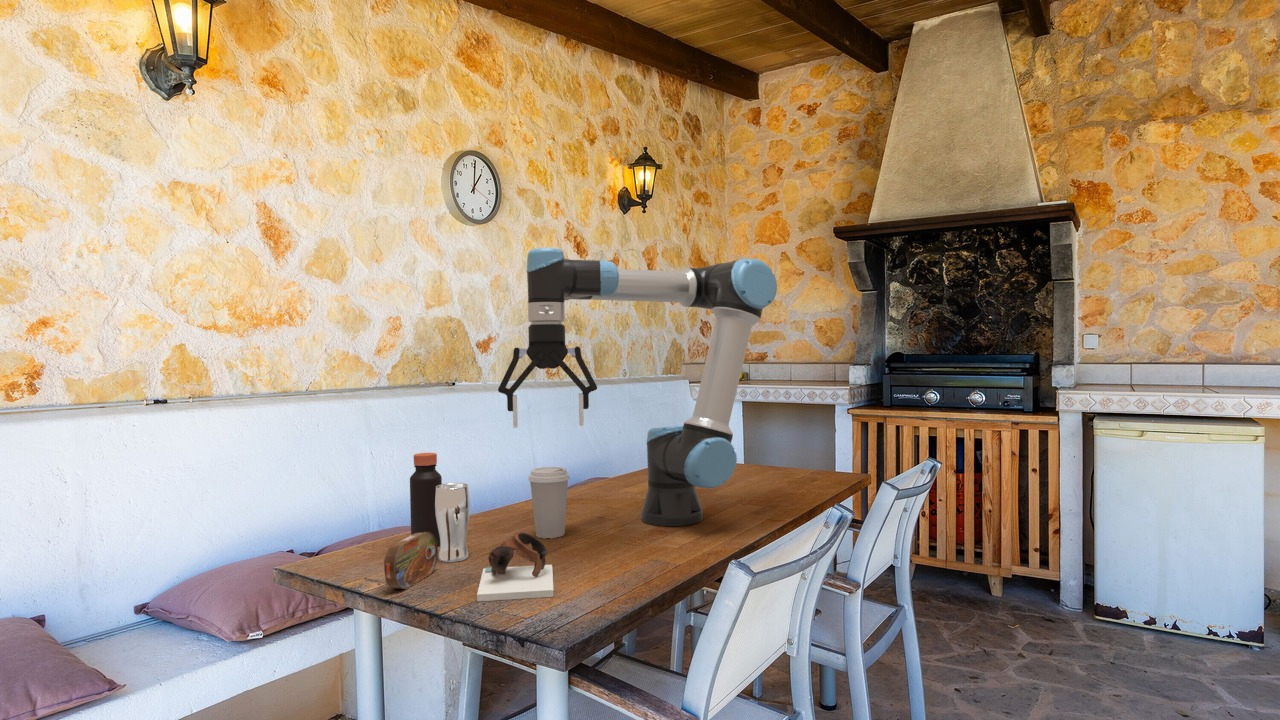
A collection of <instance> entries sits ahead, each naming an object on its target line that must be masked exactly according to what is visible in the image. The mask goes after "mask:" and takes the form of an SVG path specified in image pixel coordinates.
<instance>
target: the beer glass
mask: <svg viewBox="0 0 1280 720" xmlns="http://www.w3.org/2000/svg"><path fill="white" fill-rule="evenodd" d="M435 488H436V490H435V516H436V522H437V527H438V532H439V537H440V545H439V550H438V556H437V561H439V562H441V561H442V563H457V562H463V561H465V560H467V559H468V558H469V556H470V555H469V550H468V547H467V532H468V528H469V521H470V511H471V509H470V508H471V506H470V504H471V502H470V491H469V484H468V483H464V482H463V483H462V482H449V483H448V482H446V483H442V484H441V485H437V486H436V487H435Z"/></svg>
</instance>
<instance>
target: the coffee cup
mask: <svg viewBox="0 0 1280 720" xmlns="http://www.w3.org/2000/svg"><path fill="white" fill-rule="evenodd" d="M570 479H571V475H570V474H569V473H568V470H567V468H565V467H562V466H545V467H536V468H533V469H531V471H530V474H528V478H527V480H528V482H529V483H530V493H531V500H532V501H531V502H532V509H533V510H532V511H533V519H534V529H535V537H537V538H539V539H546V538H550V539H557V537H558V538H561V536H562V537H563V536H565V533H566V532H565V531H566V515H567V499H568V484H569V480H570Z"/></svg>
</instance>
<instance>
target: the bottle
mask: <svg viewBox="0 0 1280 720" xmlns="http://www.w3.org/2000/svg"><path fill="white" fill-rule="evenodd" d="M437 463H438V454H437V452H436V453H435V452H421V453H420V452H419V453H415V454H413V465H414V466H413V467H414V469H415V470H414V473H412V475H410V477H409V497H410V498H409V501H410V503H409V506H410V507H409V508H410V536H411V535H413V534H415V533H424V532H430V533H431V534H433V536H434V537H435V539H436V542H437V547H440V537H439V532H438V527H437V522H436V516H435V490H436V488H435V487H436V486H437V485H441V484H443V481H442V480H443V479H442V475H441V474H440V473H439V472H438V471H437V470H436V467H437V466H438V465H437Z"/></svg>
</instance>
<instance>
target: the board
mask: <svg viewBox="0 0 1280 720" xmlns="http://www.w3.org/2000/svg"><path fill="white" fill-rule="evenodd" d="M534 567H535V565H522V566H507V568H506V571H505V574H497V572H496V574H495V575H493V574H492V571H491V569H492V567H491V566H490V567H484V568H483V569H482V572H481V578H480V581H479V585H478V589H477V593H476V602H491V601H492V602H494V601H507V600H508V601H509V600H522V599H525V600H526V599H538V598H540V599H541V598H542V599H544V598H554V597H555V596H554V595H555V593H554V591H555V590H554V575H553V573H554V571H553V565H552V564H545V567H544V569H542V570H541V572H540V573H539V575H538V576H537V577H535V576H533V575H532V572H533V570H534Z"/></svg>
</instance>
